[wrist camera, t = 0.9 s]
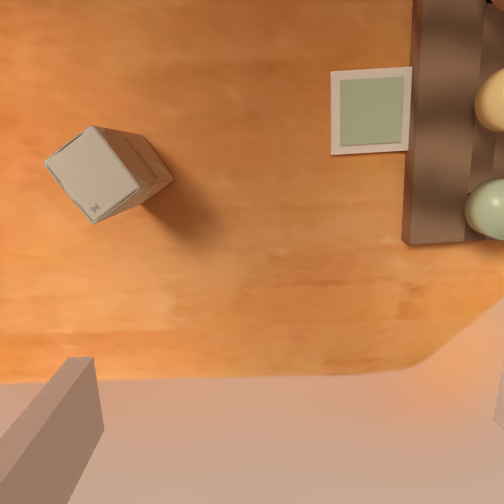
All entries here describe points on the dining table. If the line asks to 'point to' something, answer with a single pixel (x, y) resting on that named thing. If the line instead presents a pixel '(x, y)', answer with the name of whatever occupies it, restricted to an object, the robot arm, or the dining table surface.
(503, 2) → the button terracotta
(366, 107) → the swatch
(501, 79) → the button ochre
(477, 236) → the board
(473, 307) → the dining table surface
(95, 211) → the box
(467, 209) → the button green
